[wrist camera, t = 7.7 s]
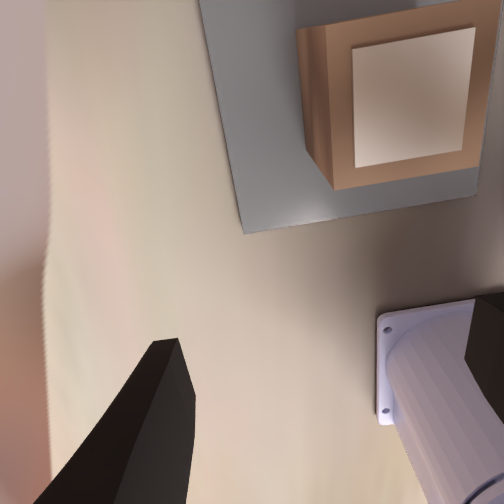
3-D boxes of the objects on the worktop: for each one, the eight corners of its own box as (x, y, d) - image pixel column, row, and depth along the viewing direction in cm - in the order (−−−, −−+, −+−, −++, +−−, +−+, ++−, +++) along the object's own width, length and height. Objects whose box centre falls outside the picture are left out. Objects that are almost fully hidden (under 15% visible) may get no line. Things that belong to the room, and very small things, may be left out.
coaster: (469, 191, 18) (476, 195, 18) (243, 228, 19) (243, 234, 18) (508, -114, 13) (520, -120, 12) (189, -52, 13) (188, -56, 13)
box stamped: (410, 131, 16) (480, 167, 12) (305, 149, 16) (334, 191, 12) (416, 7, 14) (505, -8, 9) (295, 29, 14) (325, 25, 10)
